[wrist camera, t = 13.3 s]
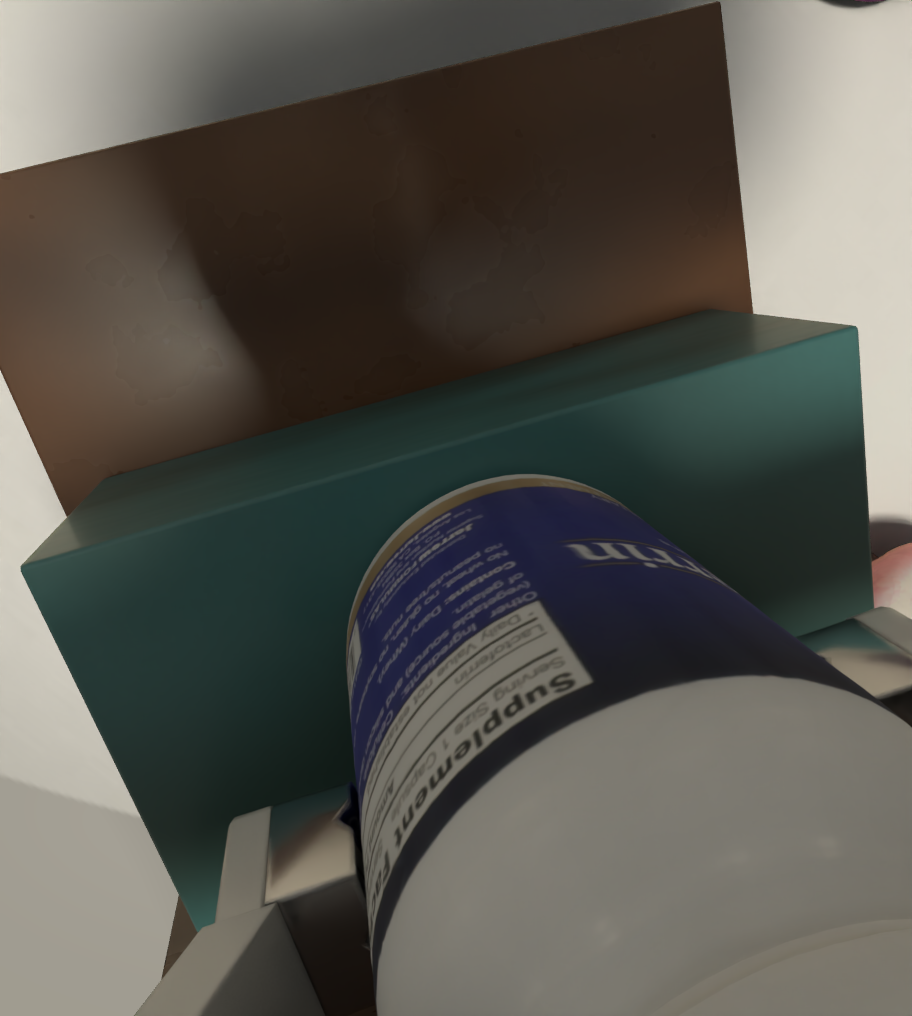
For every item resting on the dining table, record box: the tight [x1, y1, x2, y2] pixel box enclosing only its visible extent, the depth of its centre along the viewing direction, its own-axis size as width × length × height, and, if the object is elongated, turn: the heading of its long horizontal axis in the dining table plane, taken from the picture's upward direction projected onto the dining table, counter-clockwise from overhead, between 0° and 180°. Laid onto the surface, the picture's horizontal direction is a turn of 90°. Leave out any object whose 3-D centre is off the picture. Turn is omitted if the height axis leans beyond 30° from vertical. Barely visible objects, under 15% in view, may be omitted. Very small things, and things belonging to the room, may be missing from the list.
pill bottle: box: [346, 474, 912, 1016], centre depth 9 cm, size 6×6×10 cm
